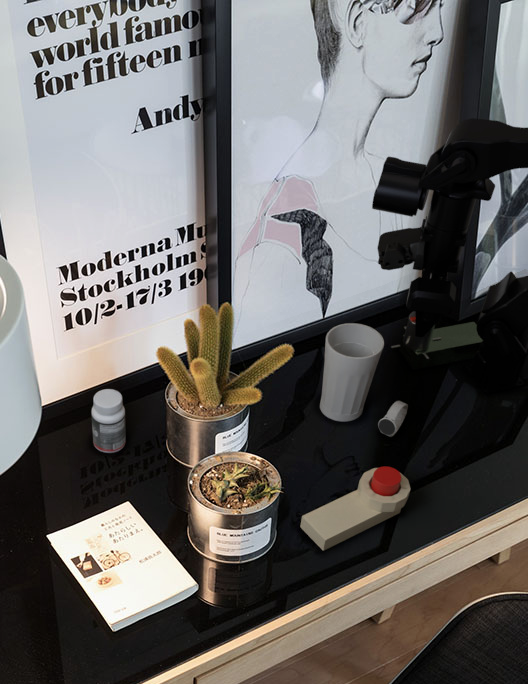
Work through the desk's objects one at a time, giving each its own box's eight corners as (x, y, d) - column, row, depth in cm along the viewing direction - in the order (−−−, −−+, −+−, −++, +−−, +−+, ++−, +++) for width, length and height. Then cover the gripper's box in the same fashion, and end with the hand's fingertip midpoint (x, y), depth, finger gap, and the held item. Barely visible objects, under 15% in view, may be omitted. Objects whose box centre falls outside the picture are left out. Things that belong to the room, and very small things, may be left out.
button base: (382, 482, 131) (388, 461, 128) (413, 511, 127) (420, 490, 124) (296, 523, 127) (300, 502, 123) (326, 554, 123) (331, 534, 120)
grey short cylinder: (374, 437, 137) (380, 410, 133) (390, 418, 139) (397, 392, 135) (392, 445, 135) (399, 419, 131) (408, 426, 138) (416, 399, 134)
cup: (366, 391, 143) (382, 324, 133) (369, 426, 138) (386, 359, 128) (313, 388, 143) (325, 321, 134) (314, 424, 139) (326, 357, 129)
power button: (386, 473, 127) (389, 462, 125) (404, 490, 125) (407, 479, 123) (365, 483, 126) (367, 472, 124) (382, 500, 124) (385, 489, 122)
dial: (422, 332, 146) (429, 306, 143) (434, 348, 144) (441, 321, 140) (398, 337, 146) (405, 310, 142) (409, 353, 143) (416, 326, 140)
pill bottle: (93, 432, 138) (90, 386, 132) (125, 431, 138) (124, 386, 132) (93, 454, 136) (90, 409, 129) (125, 453, 136) (124, 408, 129)
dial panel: (464, 331, 151) (469, 314, 149) (488, 362, 146) (494, 345, 144) (376, 347, 149) (380, 331, 147) (398, 380, 144) (402, 363, 142)
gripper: (394, 179, 136) (374, 275, 148) (380, 250, 125) (359, 347, 137) (474, 189, 134) (446, 285, 146) (467, 261, 123) (438, 359, 135)
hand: (421, 318), depth 141 cm, fingers open, 9 cm apart
